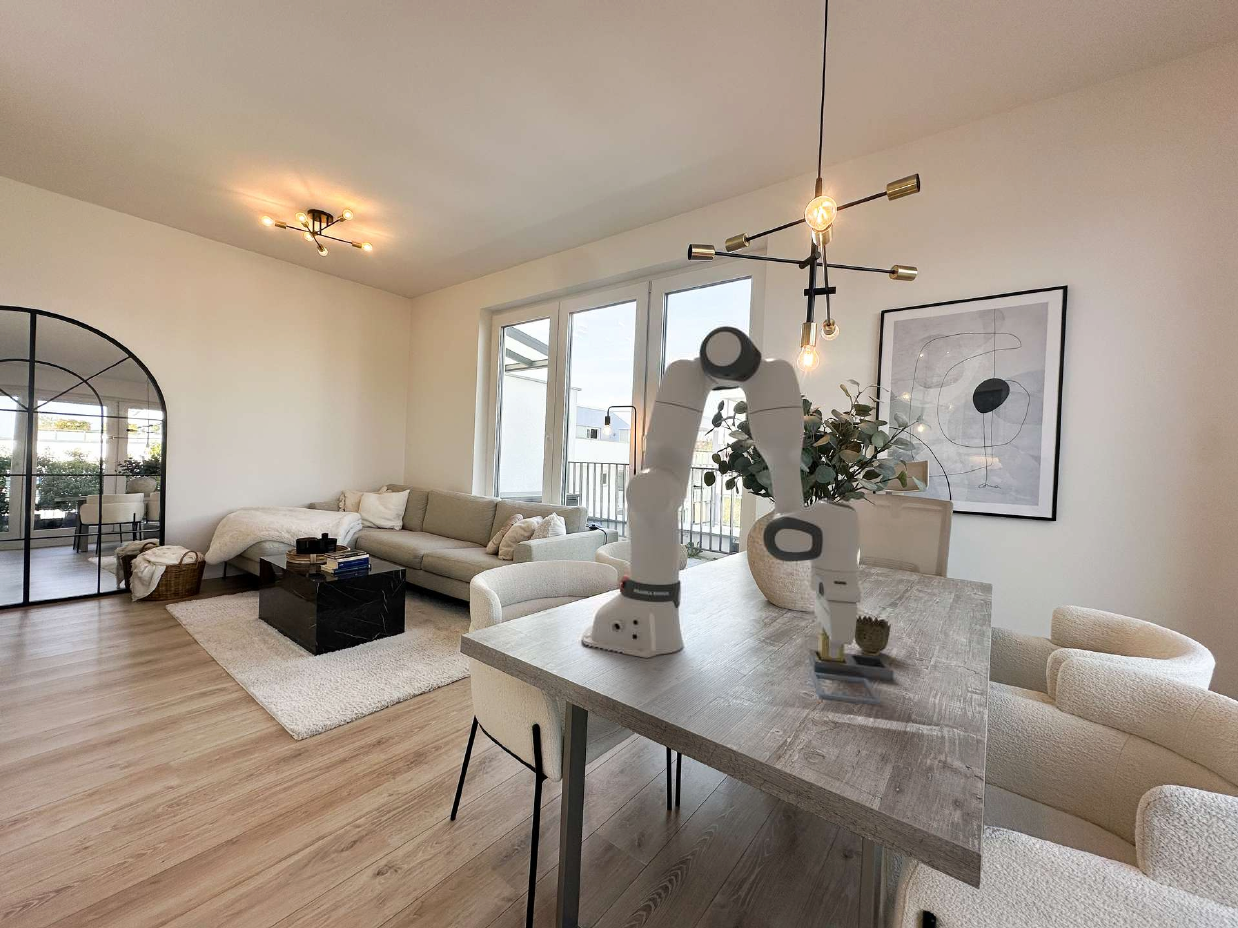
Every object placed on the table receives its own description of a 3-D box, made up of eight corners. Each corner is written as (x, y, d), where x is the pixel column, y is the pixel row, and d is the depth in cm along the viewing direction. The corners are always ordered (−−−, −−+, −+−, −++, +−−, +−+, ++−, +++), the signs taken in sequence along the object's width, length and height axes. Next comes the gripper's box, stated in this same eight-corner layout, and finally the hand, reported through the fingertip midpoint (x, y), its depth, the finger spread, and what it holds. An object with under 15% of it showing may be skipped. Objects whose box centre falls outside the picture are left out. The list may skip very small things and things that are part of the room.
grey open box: (814, 677, 98) (814, 661, 98) (808, 663, 105) (808, 649, 105) (892, 686, 96) (893, 670, 96) (881, 672, 102) (882, 657, 102)
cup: (894, 665, 106) (895, 627, 106) (856, 661, 108) (857, 623, 108) (883, 652, 114) (884, 617, 114) (847, 649, 115) (849, 613, 115)
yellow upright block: (821, 669, 100) (822, 637, 100) (817, 662, 104) (818, 631, 104) (842, 672, 99) (844, 639, 99) (838, 664, 103) (839, 633, 103)
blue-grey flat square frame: (819, 703, 87) (819, 694, 87) (809, 679, 97) (810, 671, 97) (882, 711, 85) (882, 702, 85) (866, 686, 95) (866, 678, 95)
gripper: (808, 570, 112) (805, 633, 112) (826, 592, 92) (823, 669, 92) (839, 573, 111) (836, 636, 111) (864, 595, 91) (860, 673, 91)
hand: (830, 651), depth 101 cm, fingers closed on yellow upright block, 4 cm apart
